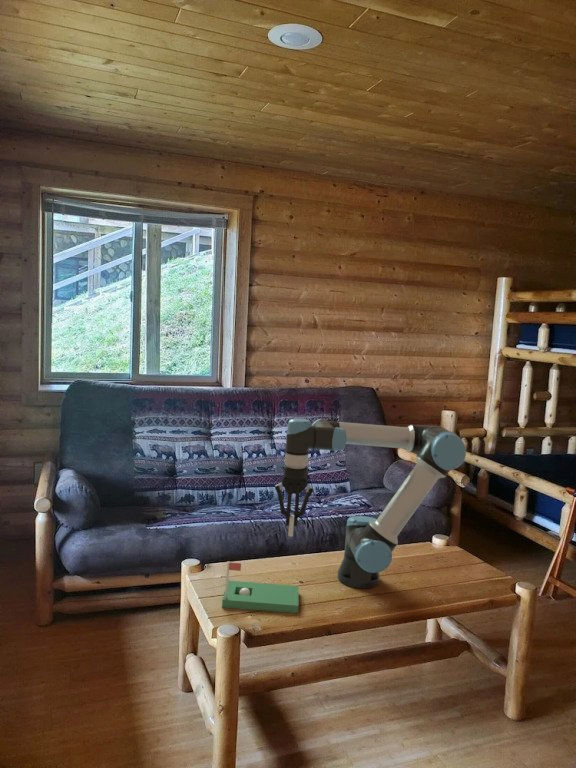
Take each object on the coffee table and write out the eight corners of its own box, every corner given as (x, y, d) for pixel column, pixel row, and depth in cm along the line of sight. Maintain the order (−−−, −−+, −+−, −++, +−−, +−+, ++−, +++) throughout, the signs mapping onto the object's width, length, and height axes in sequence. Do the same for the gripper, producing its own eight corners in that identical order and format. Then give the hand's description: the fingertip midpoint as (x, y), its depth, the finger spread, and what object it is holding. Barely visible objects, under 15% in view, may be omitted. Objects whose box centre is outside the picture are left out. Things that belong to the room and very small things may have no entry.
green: (297, 593, 199) (298, 585, 199) (297, 613, 185) (298, 605, 185) (227, 587, 199) (227, 580, 199) (221, 607, 185) (222, 599, 185)
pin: (238, 598, 186) (241, 562, 185) (238, 600, 186) (240, 563, 184) (224, 597, 187) (227, 561, 185) (224, 598, 186) (226, 562, 185)
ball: (252, 593, 194) (247, 584, 193) (251, 598, 190) (246, 588, 190) (242, 598, 194) (237, 588, 194) (241, 603, 190) (236, 593, 190)
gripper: (315, 464, 197) (309, 532, 200) (276, 461, 197) (271, 529, 200) (316, 470, 190) (310, 540, 192) (275, 467, 190) (270, 537, 192)
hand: (290, 534), depth 196 cm, fingers closed
